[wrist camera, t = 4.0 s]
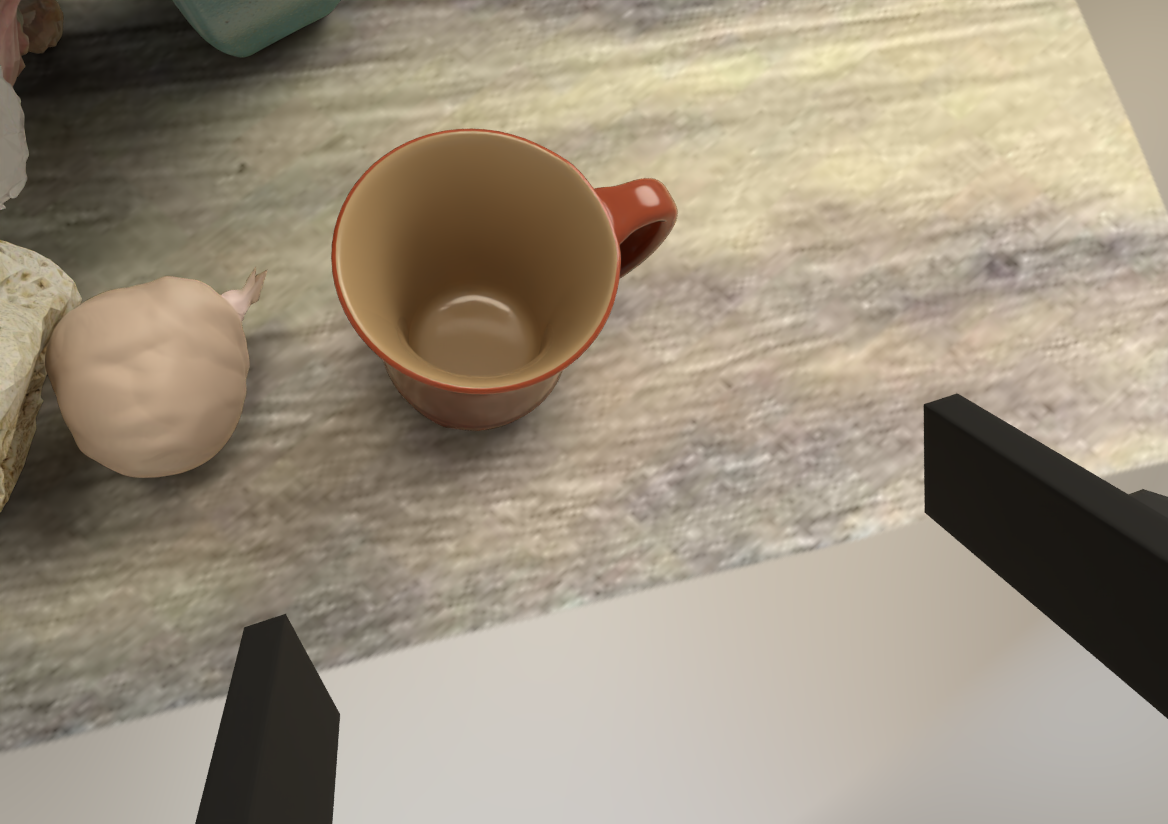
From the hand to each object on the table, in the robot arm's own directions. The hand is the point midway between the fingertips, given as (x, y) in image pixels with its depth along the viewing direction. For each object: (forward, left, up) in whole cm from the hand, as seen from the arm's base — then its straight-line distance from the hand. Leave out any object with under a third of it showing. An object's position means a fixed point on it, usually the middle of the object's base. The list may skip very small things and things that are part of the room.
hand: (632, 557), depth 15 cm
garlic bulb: (-17, +8, -14) cm, 23 cm away
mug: (0, +10, -17) cm, 20 cm away
